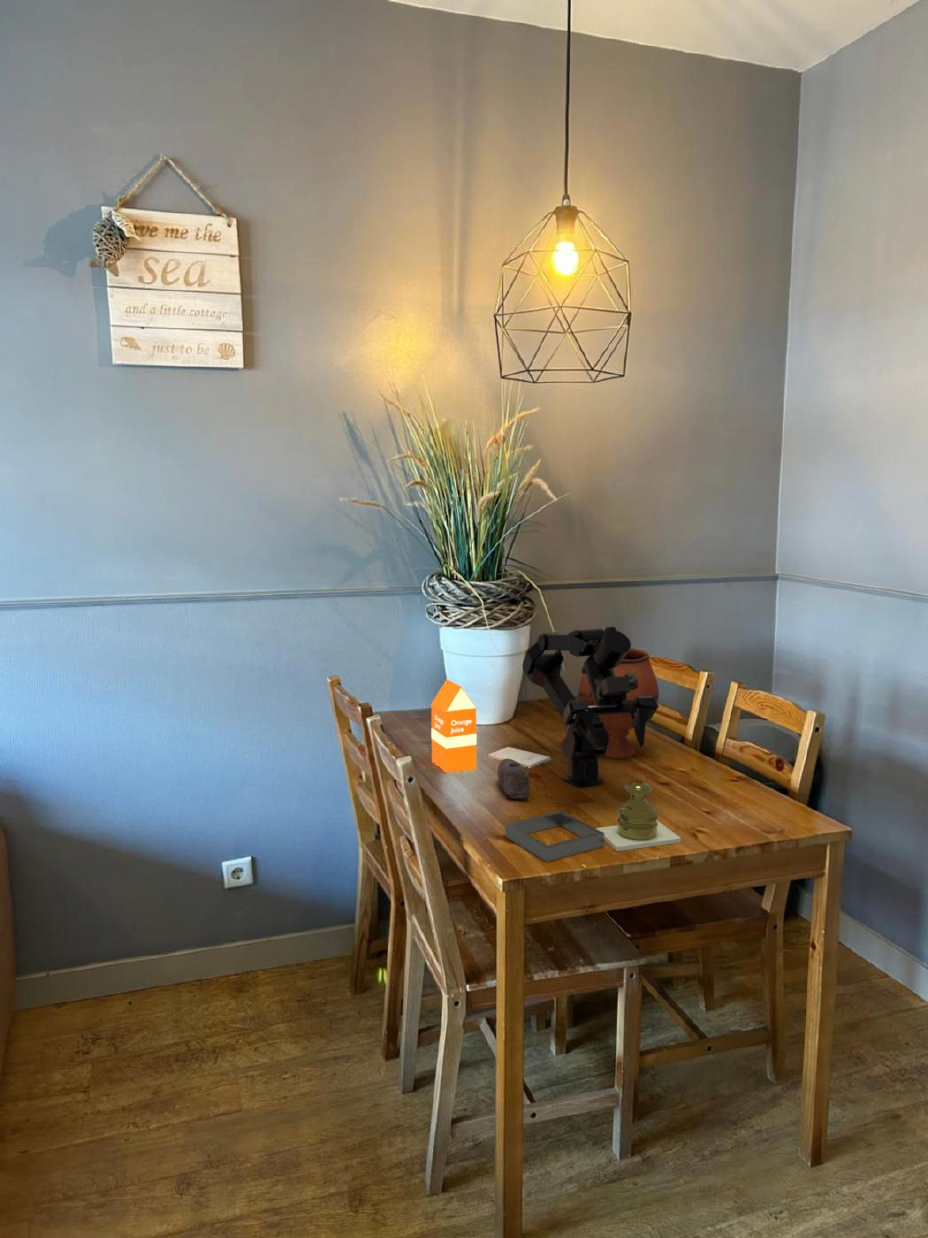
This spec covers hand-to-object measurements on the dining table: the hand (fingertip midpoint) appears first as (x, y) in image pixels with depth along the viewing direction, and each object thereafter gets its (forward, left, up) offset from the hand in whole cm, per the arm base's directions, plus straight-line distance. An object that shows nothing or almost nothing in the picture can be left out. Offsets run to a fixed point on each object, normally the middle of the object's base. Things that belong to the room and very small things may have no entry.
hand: (620, 747), depth 174 cm
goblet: (-30, +25, -14) cm, 42 cm away
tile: (+11, -5, -14) cm, 18 cm away
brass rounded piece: (+11, -5, -13) cm, 18 cm away
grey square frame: (+5, -20, -14) cm, 24 cm away
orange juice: (-42, -14, -14) cm, 47 cm away
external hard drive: (-39, +2, -14) cm, 41 cm away
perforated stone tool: (-22, -11, -14) cm, 28 cm away
